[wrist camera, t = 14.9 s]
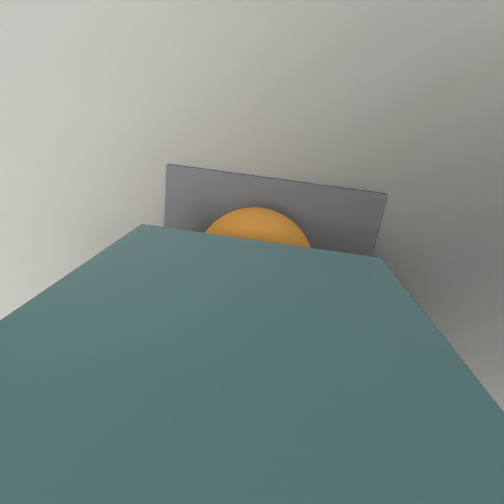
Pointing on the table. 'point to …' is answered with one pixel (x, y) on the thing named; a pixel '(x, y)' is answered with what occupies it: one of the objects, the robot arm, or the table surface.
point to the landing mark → (275, 206)
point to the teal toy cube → (238, 383)
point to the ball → (259, 227)
